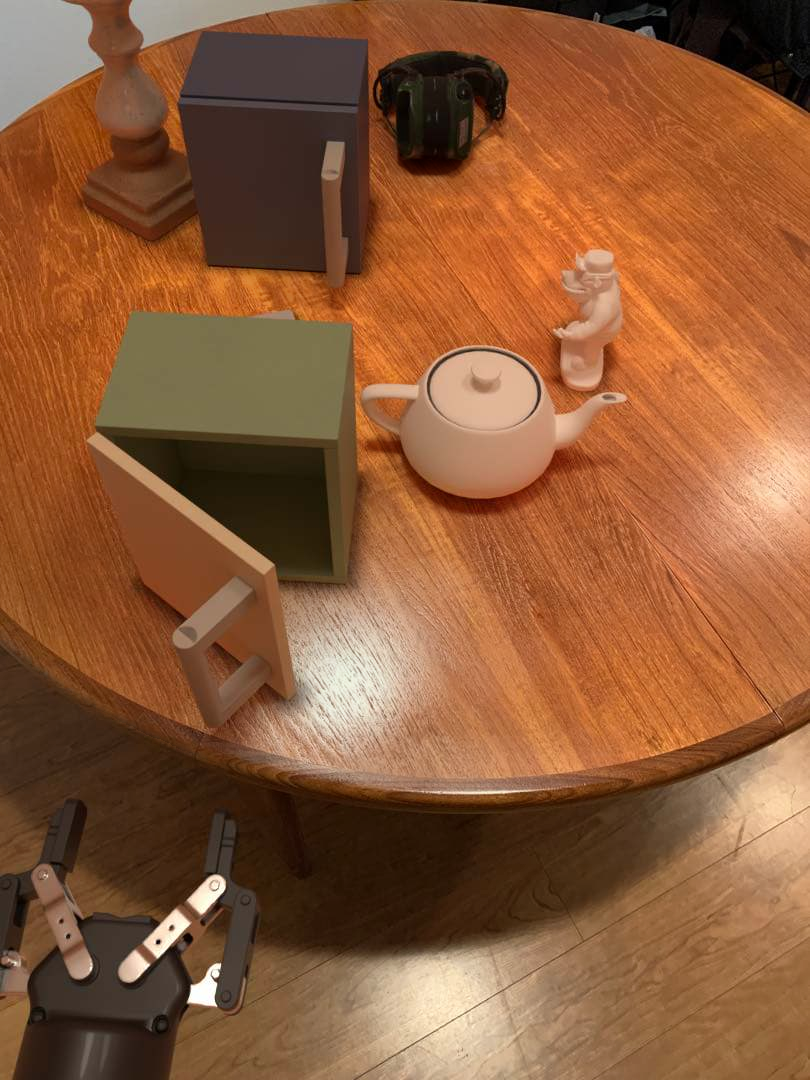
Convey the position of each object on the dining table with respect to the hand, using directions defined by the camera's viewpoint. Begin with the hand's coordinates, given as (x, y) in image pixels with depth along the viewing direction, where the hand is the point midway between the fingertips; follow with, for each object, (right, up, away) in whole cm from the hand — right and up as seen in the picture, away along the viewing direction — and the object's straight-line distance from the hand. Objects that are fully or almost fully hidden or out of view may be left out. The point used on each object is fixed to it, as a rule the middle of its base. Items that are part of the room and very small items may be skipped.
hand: (150, 807), depth 54 cm
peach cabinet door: (-2, +6, +17) cm, 18 cm away
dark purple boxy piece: (+3, +49, +46) cm, 68 cm away
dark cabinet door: (+2, +42, +41) cm, 59 cm away
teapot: (+22, +23, +29) cm, 43 cm away
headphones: (+19, +65, +58) cm, 89 cm away
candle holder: (-13, +53, +49) cm, 74 cm away
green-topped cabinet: (+2, +17, +24) cm, 30 cm away
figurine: (+32, +33, +36) cm, 59 cm away
